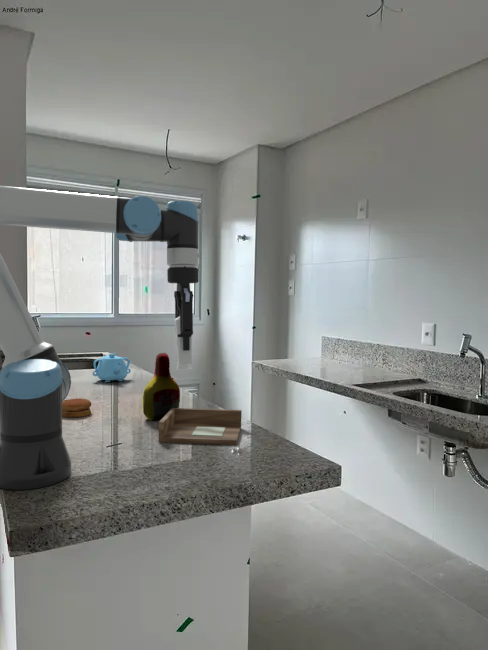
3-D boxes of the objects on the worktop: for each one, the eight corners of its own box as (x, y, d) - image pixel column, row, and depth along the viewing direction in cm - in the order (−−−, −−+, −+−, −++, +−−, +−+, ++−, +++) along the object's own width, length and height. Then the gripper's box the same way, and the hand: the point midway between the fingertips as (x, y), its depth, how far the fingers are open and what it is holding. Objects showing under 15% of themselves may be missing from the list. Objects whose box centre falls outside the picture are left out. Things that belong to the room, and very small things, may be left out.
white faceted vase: (180, 371, 118) (179, 308, 117) (171, 369, 121) (171, 308, 120) (196, 369, 120) (196, 308, 119) (188, 367, 124) (187, 307, 123)
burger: (91, 417, 151) (91, 402, 150) (59, 419, 148) (59, 404, 148) (91, 410, 160) (91, 395, 160) (60, 411, 157) (60, 397, 157)
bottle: (176, 414, 156) (176, 351, 155) (183, 418, 150) (184, 353, 149) (139, 418, 150) (139, 352, 149) (145, 423, 144) (146, 355, 143)
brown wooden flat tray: (236, 445, 125) (236, 424, 124) (158, 442, 126) (158, 422, 126) (241, 428, 140) (241, 410, 140) (172, 425, 142) (172, 407, 142)
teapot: (86, 379, 216) (86, 352, 216) (123, 376, 225) (123, 350, 225) (99, 386, 200) (99, 357, 199) (139, 383, 208) (139, 355, 208)
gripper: (205, 265, 112) (206, 366, 113) (192, 268, 129) (193, 357, 130) (172, 264, 110) (173, 368, 111) (163, 268, 127) (164, 358, 128)
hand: (184, 362), depth 121 cm, fingers closed on white faceted vase, 5 cm apart
